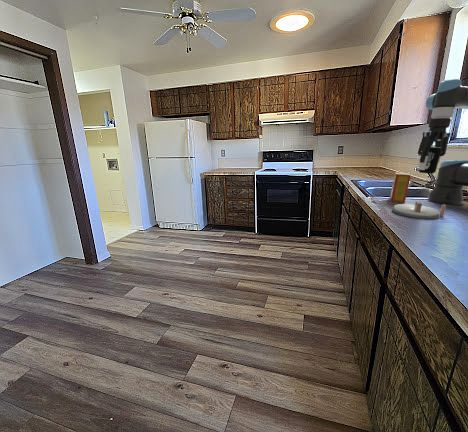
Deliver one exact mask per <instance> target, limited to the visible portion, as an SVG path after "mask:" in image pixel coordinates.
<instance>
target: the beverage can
mask: <svg viewBox="0 0 468 432" xmlns="http://www.w3.org/2000/svg"><path fill="white" fill-rule="evenodd" d="M440 154H441V147H435V146H431V148H430V150H429V152H428V154H427V155H426V156H428V159H427V163H426V167H425V170H419V169H417V171H418V172H419V173H422V174H430V175H431V174H434V173H436V171H437V170H436V168H437V169H438V166H437V164H438V165H439V163H438V161H439V157H440ZM440 158H441V157H440ZM439 162H440V161H439Z"/></svg>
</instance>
